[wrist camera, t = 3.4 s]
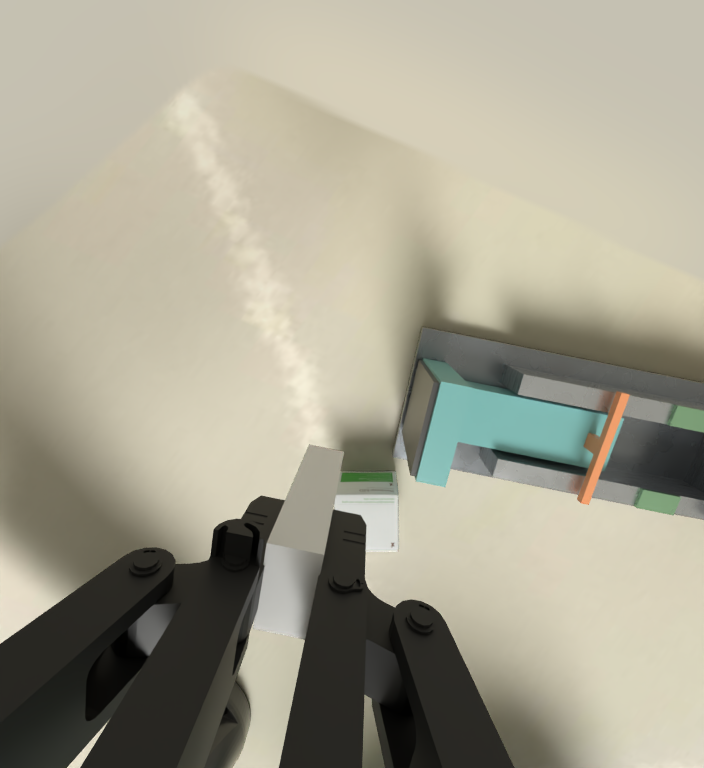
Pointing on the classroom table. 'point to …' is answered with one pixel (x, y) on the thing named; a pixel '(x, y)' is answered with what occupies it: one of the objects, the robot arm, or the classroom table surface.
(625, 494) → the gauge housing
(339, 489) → the small box
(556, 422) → the plunger
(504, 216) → the classroom table surface
